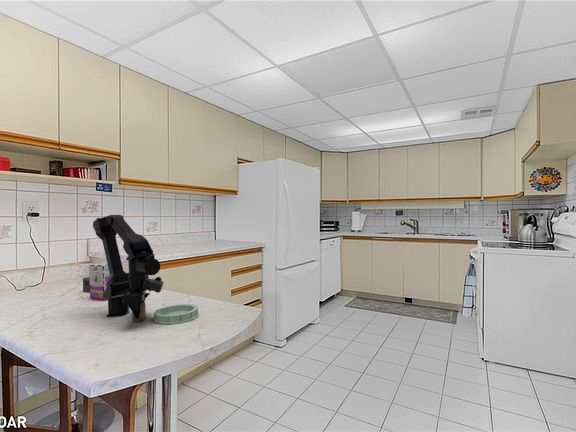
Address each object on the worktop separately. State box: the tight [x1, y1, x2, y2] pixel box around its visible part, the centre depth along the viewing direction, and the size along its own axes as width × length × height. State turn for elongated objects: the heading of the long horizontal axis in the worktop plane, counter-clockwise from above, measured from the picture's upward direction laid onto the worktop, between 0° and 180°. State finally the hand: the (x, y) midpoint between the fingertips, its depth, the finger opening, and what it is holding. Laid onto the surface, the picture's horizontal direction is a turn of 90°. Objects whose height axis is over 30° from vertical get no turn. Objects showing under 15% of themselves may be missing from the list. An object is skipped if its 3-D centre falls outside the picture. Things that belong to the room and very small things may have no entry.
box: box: [82, 276, 90, 293], centre depth 168 cm, size 6×6×7 cm
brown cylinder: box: [131, 302, 147, 323], centre depth 115 cm, size 4×4×6 cm
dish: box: [153, 303, 199, 325], centre depth 117 cm, size 15×15×3 cm
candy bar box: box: [88, 263, 110, 302], centre depth 150 cm, size 11×5×16 cm, turn 62°
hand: (139, 316), depth 115 cm, fingers closed on brown cylinder, 4 cm apart
